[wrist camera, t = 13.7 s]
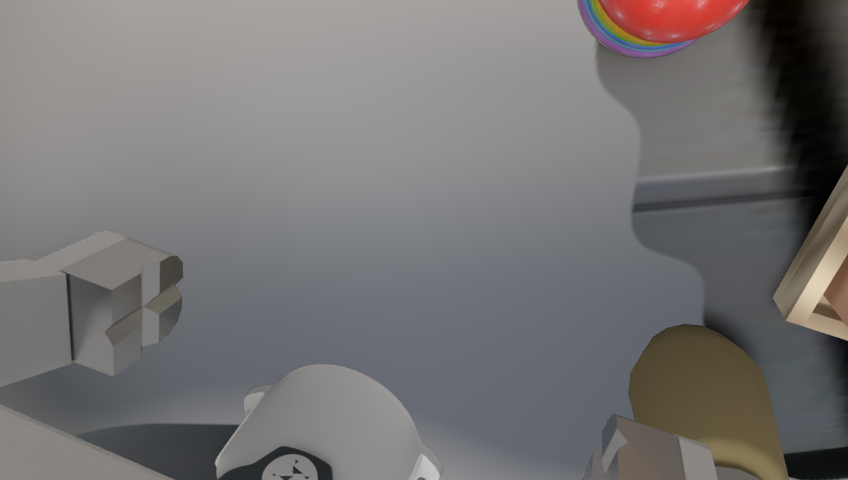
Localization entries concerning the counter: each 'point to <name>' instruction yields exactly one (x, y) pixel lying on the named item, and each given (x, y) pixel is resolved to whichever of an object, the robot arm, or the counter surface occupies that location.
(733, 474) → the squeeze bottle
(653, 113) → the counter surface
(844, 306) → the terracotta cube
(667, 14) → the stacking toy
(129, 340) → the robot arm
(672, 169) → the counter surface
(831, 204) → the block rack
